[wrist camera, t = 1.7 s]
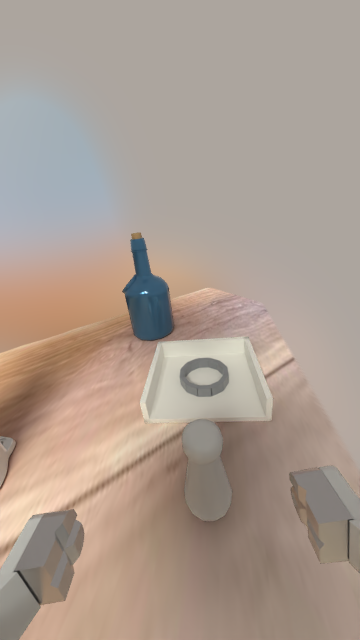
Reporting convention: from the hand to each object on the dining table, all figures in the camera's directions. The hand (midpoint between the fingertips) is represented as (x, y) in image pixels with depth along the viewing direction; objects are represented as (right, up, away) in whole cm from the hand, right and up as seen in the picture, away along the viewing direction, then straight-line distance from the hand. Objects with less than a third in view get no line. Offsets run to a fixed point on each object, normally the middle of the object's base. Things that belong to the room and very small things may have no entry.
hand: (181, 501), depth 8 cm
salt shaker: (+4, -17, +20) cm, 26 cm away
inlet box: (+5, -7, +40) cm, 41 cm away
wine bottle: (-9, +3, +65) cm, 65 cm away
